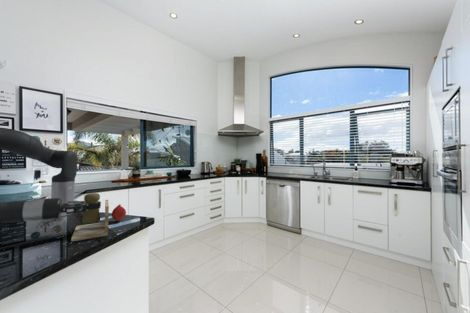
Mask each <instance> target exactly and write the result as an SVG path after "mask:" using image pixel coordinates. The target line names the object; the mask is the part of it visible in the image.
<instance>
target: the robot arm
mask: <svg viewBox="0 0 470 313" xmlns="http://www.w3.org/2000/svg"><path fill="white" fill-rule="evenodd" d="M0 149H1V150H4V151H7V152H9V153H11V154H15V155H18V156H21V157H25V158H28V159H30V160H34V161H37V162H40V163H43V164H44V165H47V166H49V167H51V168H54V169H61V170H60V172H59V173H58V174H56V175H53V176H52V177H51V186H50V187H51V188H50V189H51V192H50V198H36V199H29V200H16V201H15V200H13V201H6V202H0V224H3V223H7V224H8V223H19V222H38V221H47V220H57V219H60V217H65V216H71V215H73V214H77V213H84V212H85V211H87V210H90V209H99V210H100V209H101V207H102V206H101V204H102V201H100V200H99V201H98V203H92V204H88V203H86V202H85V200H75V187H76V186H75V184H76V182H75V180H76V176H77V173H78V172H77V171H78V155H77V154H76V152H75V151H73V150H56V149H51V148H49V147H46V146H44V145H43V143H42V141H41V140H40V139H38V138H37V137H35V136H32V135H31V134H28V133H26V132H23V131H21V130H17V129H11V128H5V127H0Z"/></svg>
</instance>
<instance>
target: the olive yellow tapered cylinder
mask: <svg viewBox="0 0 470 313" xmlns="http://www.w3.org/2000/svg"><path fill="white" fill-rule="evenodd" d="M100 198H101V196H100V193H96V192H91V193H90V192H89V193H87V194H84V198H83V199H84V200H83V201H85V202H86V203H88V204H92V203H98V201H100ZM82 214H83V215H82V221H81V223H82V224H94V223H96V222H97V223H98V222H100V221H101V214H100V209H90V210H87V211H85V212H83V213H82Z"/></svg>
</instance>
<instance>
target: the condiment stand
mask: <svg viewBox="0 0 470 313" xmlns="http://www.w3.org/2000/svg"><path fill="white" fill-rule="evenodd" d="M104 203H105V206H104V222H97V223H96V222H94V223H87V224H82V225H76V227H75V229H74V231H73V234H72V235H71V240H70V241H71V242H76V241H84V240H89V239H96V238H100V237H101V238H102V237H107V236H109V208H110V207H109V206H110V205H109V199H105V202H104Z"/></svg>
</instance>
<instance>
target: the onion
mask: <svg viewBox="0 0 470 313" xmlns="http://www.w3.org/2000/svg"><path fill="white" fill-rule="evenodd" d="M126 214H127V212H126V209H125V208H124V207H123V206H122V205H121V204H118V205H117V206H115V208H114V209H113V210H112V211H111V218H112V219H113V220H115V221H116V222H121V221H122V220H123V219H124V218H125V217H126Z"/></svg>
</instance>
